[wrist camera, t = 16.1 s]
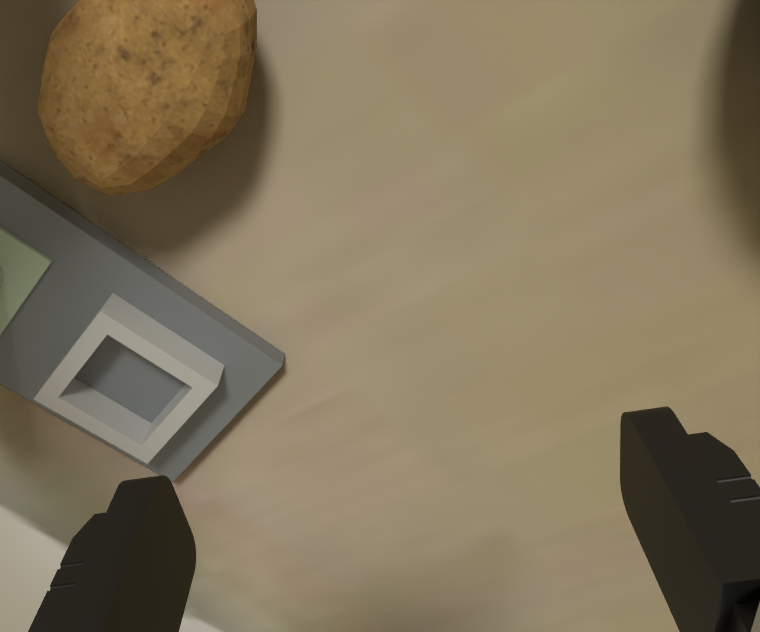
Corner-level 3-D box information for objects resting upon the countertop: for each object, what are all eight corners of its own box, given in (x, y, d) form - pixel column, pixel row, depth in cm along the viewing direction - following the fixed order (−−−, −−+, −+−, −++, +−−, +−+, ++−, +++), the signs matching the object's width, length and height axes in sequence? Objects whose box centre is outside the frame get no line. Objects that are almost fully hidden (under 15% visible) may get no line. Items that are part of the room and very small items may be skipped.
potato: (317, 20, 39) (307, 40, 32) (176, 198, 44) (140, 249, 37) (171, -117, 36) (125, -126, 29) (36, 92, 41) (-32, 127, 34)
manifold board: (-156, 277, 46) (-198, 305, 43) (-67, 114, 41) (-107, 132, 38) (177, 468, 55) (164, 505, 52) (284, 353, 50) (278, 385, 47)
